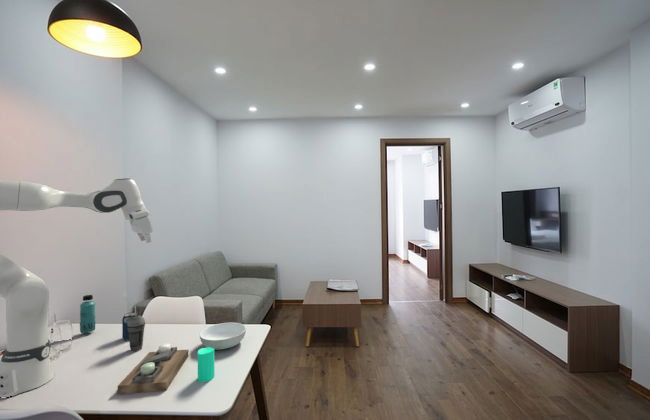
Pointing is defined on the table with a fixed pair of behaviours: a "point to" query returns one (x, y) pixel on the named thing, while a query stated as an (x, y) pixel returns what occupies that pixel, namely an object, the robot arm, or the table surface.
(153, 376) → the switch panel
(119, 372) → the table surface
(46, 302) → the robot arm
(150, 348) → the table surface
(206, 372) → the candle
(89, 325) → the beverage bottle
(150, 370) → the button sage
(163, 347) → the button offwhite
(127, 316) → the soda can
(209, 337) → the serving bowl
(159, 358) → the flat grey strip
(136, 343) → the beverage cup
